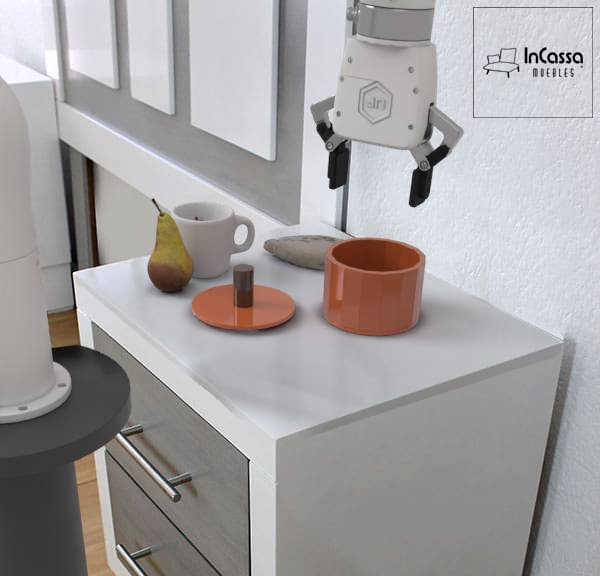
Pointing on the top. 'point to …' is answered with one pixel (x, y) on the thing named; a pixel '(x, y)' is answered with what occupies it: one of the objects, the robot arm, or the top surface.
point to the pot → (373, 285)
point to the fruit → (169, 256)
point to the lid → (243, 303)
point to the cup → (210, 235)
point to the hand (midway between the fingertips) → (376, 195)
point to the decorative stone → (302, 249)
